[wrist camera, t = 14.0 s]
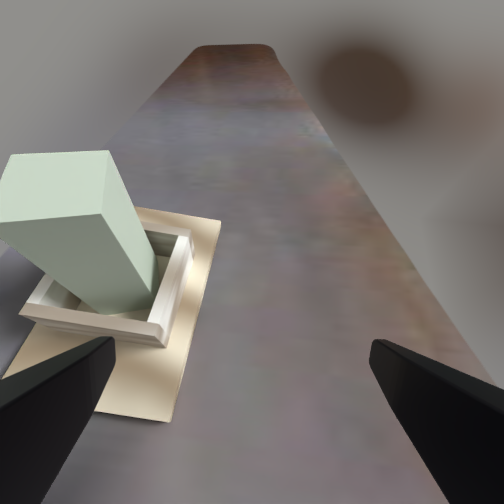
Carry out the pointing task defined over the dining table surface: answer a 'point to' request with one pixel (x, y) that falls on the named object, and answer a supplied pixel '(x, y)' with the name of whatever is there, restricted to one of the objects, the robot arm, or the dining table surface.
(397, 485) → the dining table surface
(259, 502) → the dining table surface
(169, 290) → the holder
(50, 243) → the peg
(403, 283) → the dining table surface
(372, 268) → the dining table surface
